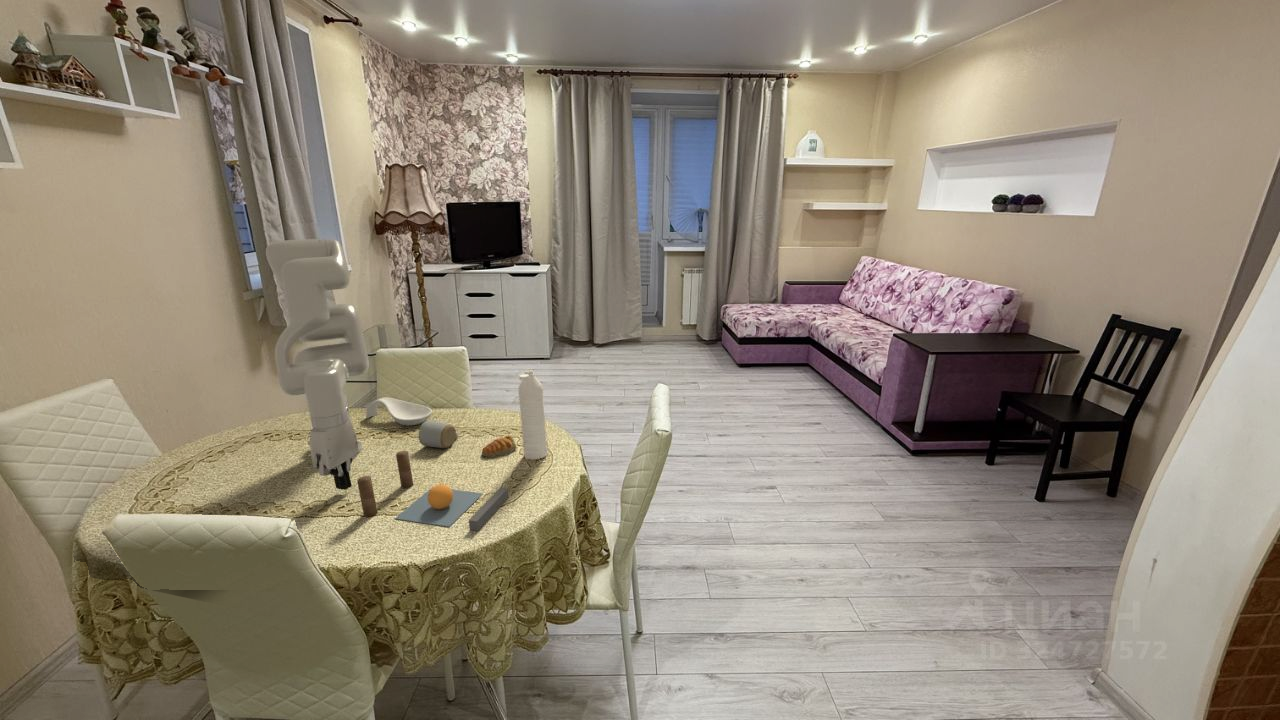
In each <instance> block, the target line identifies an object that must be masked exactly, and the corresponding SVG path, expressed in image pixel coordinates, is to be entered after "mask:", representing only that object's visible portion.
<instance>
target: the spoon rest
mask: <svg viewBox="0 0 1280 720" xmlns="http://www.w3.org/2000/svg"><path fill="white" fill-rule="evenodd" d="M379 404H383V405H384V407H385V408H386V409H387V411H388V413H389V415H390V416H391V418H392V419H393V420H394V421H396V423H398V424H399V425H402V426H404V425H406V427H410V426H412V425H413V426H418V425H420V424H423V423H424V422H425V421H427V420H429V418H430V417H431V415H432V413H433V410H432V409H431V408H430V407H428V406H426V405H422V404H418V403H414V402H409V401H405V400H401V399H397V398H392V397H387V396H386V397H384V396H383V397H381V398H378V399H376V400H373V401H372V402H370V403H369V405H368V406H367V408H366V413H365V417H371V416H373V417H375V416H377V415H378V414H379V409H378V408H379V407H378V405H379ZM376 414H377V415H376ZM371 418H372V417H371Z"/></svg>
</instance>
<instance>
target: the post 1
mask: <svg viewBox="0 0 1280 720" xmlns="http://www.w3.org/2000/svg"><path fill="white" fill-rule="evenodd" d="M356 481H357V487H358V491H359V492H358V493H359V497H360V502H361V507H362V512H363V513H362V514H363V517H364V518H372V517H374V516H376V515H377V514H378V508H377V503H376V497H375V492H374V485H373V480H372V477H371V476H370V475H363V476H360V477H358V479H357V480H356Z"/></svg>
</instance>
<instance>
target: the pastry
mask: <svg viewBox="0 0 1280 720" xmlns="http://www.w3.org/2000/svg"><path fill="white" fill-rule="evenodd" d="M516 449H517V444H516V442H515V440H514V438H513V437H512V435H504V437H499V438H496V439H493V441H491V442H490V443H488V444H487V445H485V446H484V447H482V450H481V455H483V457H487V458H492V456H493V457H499V455H500V456H503V455H506V454H509V452H510V453H512V452H514V450H515V451H516ZM511 451H512V452H511ZM505 453H506V454H505Z"/></svg>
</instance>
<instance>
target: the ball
mask: <svg viewBox="0 0 1280 720" xmlns="http://www.w3.org/2000/svg"><path fill="white" fill-rule="evenodd" d="M432 487H433V488H432ZM432 487H431V488H432V489H431V488H430V489H431V490H430V489H429V490H430V491H429V493H428V502H429V504H430V506H432V507H433V508H435V509H444V508H446V507H448V506H449V505H450V504H451V502H452V500H453V492H452V490H451V489H452V488H451V487H450V486H448V485H446V484H443V483H442V484H436V485H435V486H432Z"/></svg>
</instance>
